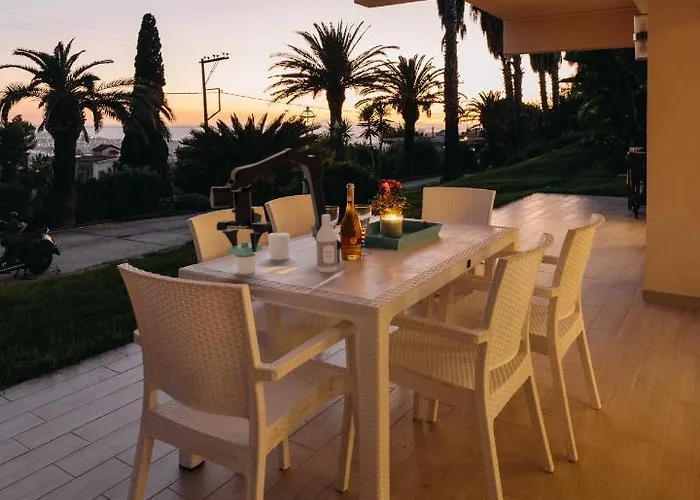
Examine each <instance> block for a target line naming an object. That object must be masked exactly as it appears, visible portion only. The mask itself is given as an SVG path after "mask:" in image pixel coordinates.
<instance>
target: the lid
mask: <svg viewBox="0 0 700 500" xmlns="http://www.w3.org/2000/svg"><path fill="white" fill-rule="evenodd" d="M262 245H263V244H262V243H258V246H257V249H256V252H253V250H252V244H251V242H248V241H242V242H240V243H239V244H238V245H236V246H231V247H228V248H227V255H234V256H235V255H243V256H246V255H249V254H252V253H253V254H255V253H257V252H259V251H262V250H263V246H262Z"/></svg>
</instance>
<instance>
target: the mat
mask: <svg viewBox="0 0 700 500" xmlns="http://www.w3.org/2000/svg"><path fill="white" fill-rule="evenodd" d="M300 269H301V268H300V267H294V266H293V267H292V266H281V265H274V266H272V267H269V268H267V269H265V270H262V271H260V273H262V274H273V275H283V276H284V275H285V276H287V275H289V274H291V273H294V272H295V271H297V270H300Z"/></svg>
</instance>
